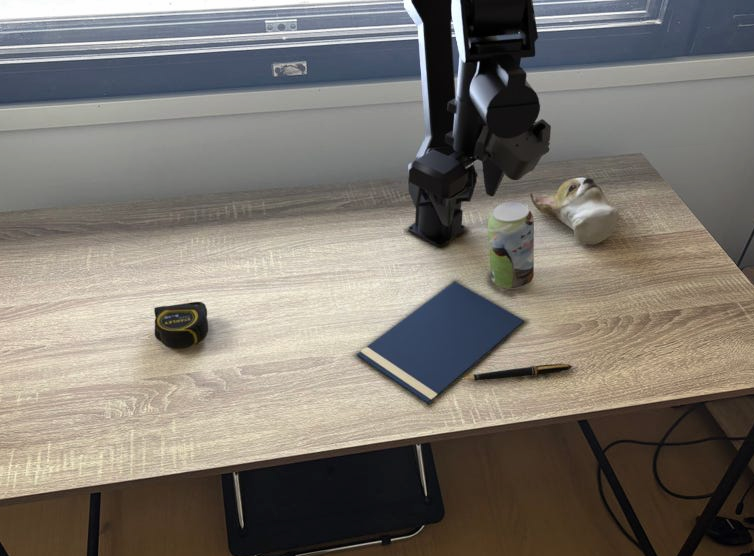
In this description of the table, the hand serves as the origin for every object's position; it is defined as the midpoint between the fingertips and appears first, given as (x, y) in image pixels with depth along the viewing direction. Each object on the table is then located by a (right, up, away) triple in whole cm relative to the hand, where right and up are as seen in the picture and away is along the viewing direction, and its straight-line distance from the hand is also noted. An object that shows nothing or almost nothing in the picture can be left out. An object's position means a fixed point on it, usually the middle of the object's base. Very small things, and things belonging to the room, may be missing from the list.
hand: (468, 209), depth 94 cm
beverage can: (+7, -8, +10) cm, 15 cm away
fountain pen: (+6, -22, -3) cm, 23 cm away
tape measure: (-38, -16, +3) cm, 41 cm away
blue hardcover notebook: (-3, -17, +2) cm, 17 cm away
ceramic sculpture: (+19, +1, +20) cm, 28 cm away
